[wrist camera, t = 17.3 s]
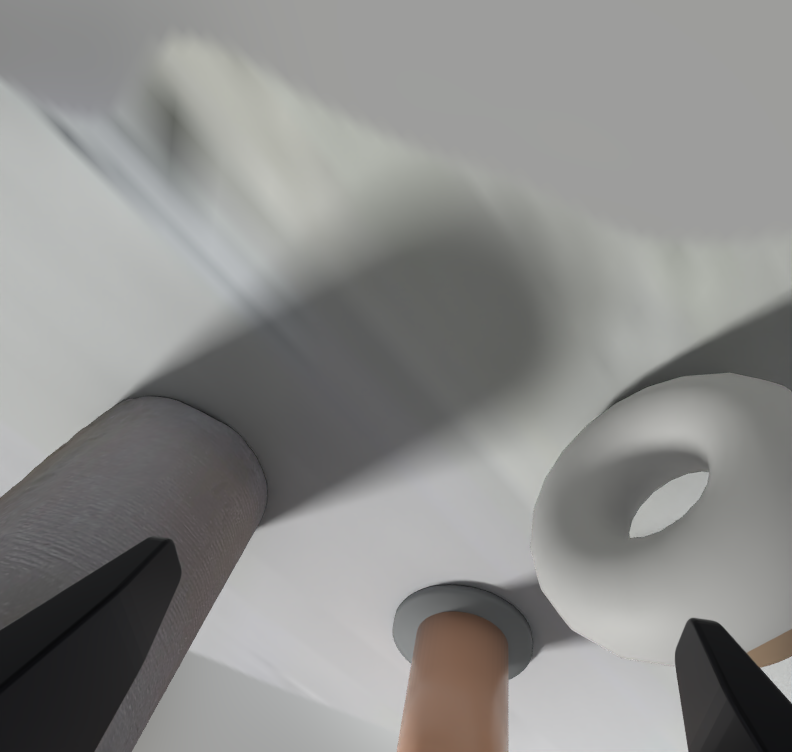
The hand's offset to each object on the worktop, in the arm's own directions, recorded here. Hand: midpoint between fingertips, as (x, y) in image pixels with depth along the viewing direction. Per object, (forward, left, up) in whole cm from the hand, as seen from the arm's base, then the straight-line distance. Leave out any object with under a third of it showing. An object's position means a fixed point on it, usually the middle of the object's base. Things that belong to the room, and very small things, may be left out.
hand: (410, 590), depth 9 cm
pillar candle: (+14, +10, -13) cm, 22 cm away
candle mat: (-1, +19, -13) cm, 23 cm away
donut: (-7, +4, -13) cm, 15 cm away
